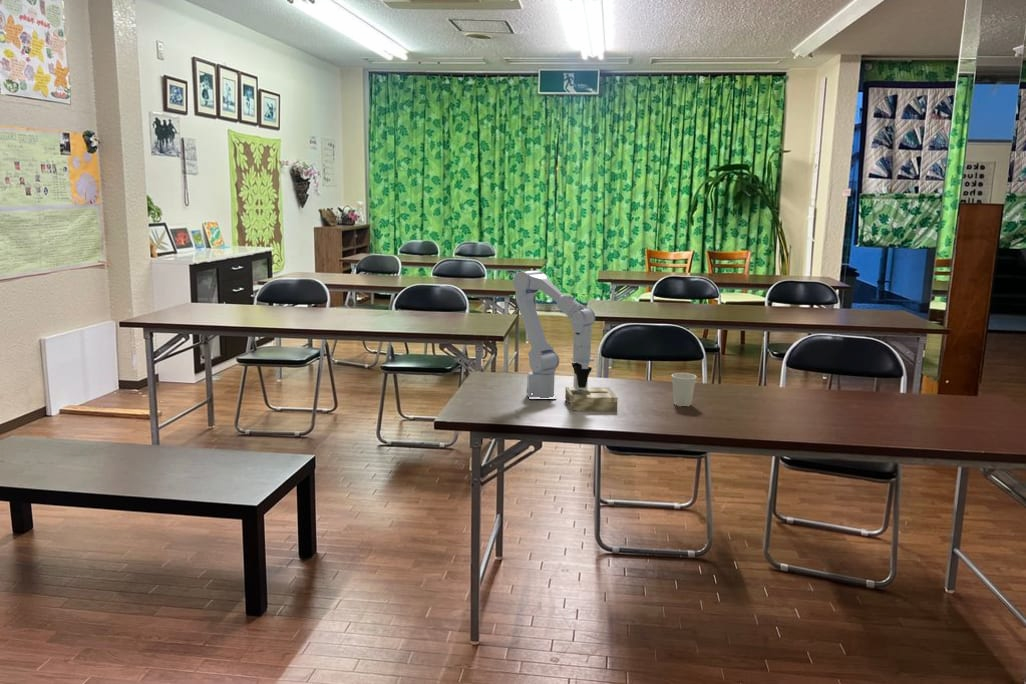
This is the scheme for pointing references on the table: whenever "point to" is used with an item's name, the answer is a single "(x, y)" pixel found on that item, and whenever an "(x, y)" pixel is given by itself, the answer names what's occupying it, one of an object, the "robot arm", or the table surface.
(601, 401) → the keyhole plate
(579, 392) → the headed peg
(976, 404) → the table surface
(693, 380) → the dixie cup
